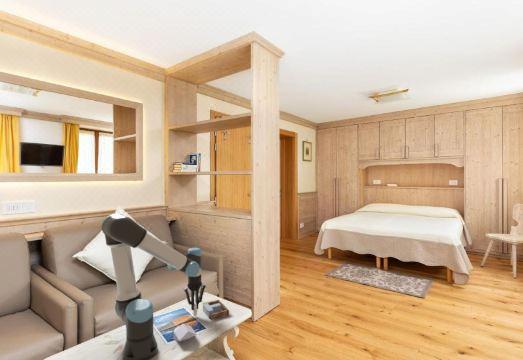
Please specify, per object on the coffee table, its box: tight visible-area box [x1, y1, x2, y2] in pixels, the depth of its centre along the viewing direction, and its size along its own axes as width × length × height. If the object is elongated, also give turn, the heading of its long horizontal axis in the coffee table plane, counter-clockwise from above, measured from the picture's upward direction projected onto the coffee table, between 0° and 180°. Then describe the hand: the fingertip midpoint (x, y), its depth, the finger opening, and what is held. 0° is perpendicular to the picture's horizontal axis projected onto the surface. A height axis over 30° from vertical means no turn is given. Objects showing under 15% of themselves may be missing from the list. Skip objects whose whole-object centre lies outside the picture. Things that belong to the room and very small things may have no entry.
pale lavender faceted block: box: [173, 323, 198, 342], centre depth 146 cm, size 9×7×13 cm
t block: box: [202, 302, 222, 319], centre depth 172 cm, size 9×10×4 cm
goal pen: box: [202, 299, 230, 321], centre depth 173 cm, size 10×16×3 cm, turn 30°
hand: (194, 314), depth 167 cm, fingers closed
